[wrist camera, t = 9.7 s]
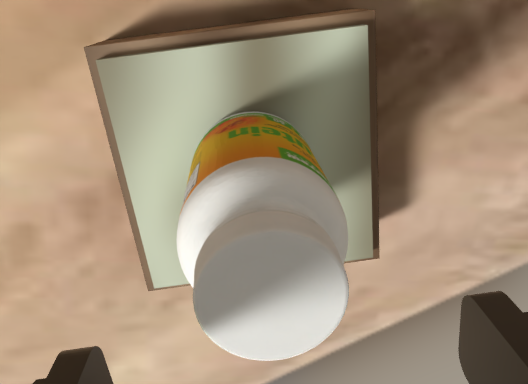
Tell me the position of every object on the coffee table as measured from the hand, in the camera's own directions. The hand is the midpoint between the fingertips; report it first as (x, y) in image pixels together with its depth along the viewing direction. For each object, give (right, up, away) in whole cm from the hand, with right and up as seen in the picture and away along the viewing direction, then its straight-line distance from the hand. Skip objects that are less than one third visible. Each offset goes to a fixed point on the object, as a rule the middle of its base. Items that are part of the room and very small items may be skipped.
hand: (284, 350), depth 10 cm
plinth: (-1, +6, +14) cm, 15 cm away
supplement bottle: (-1, +5, +10) cm, 11 cm away
